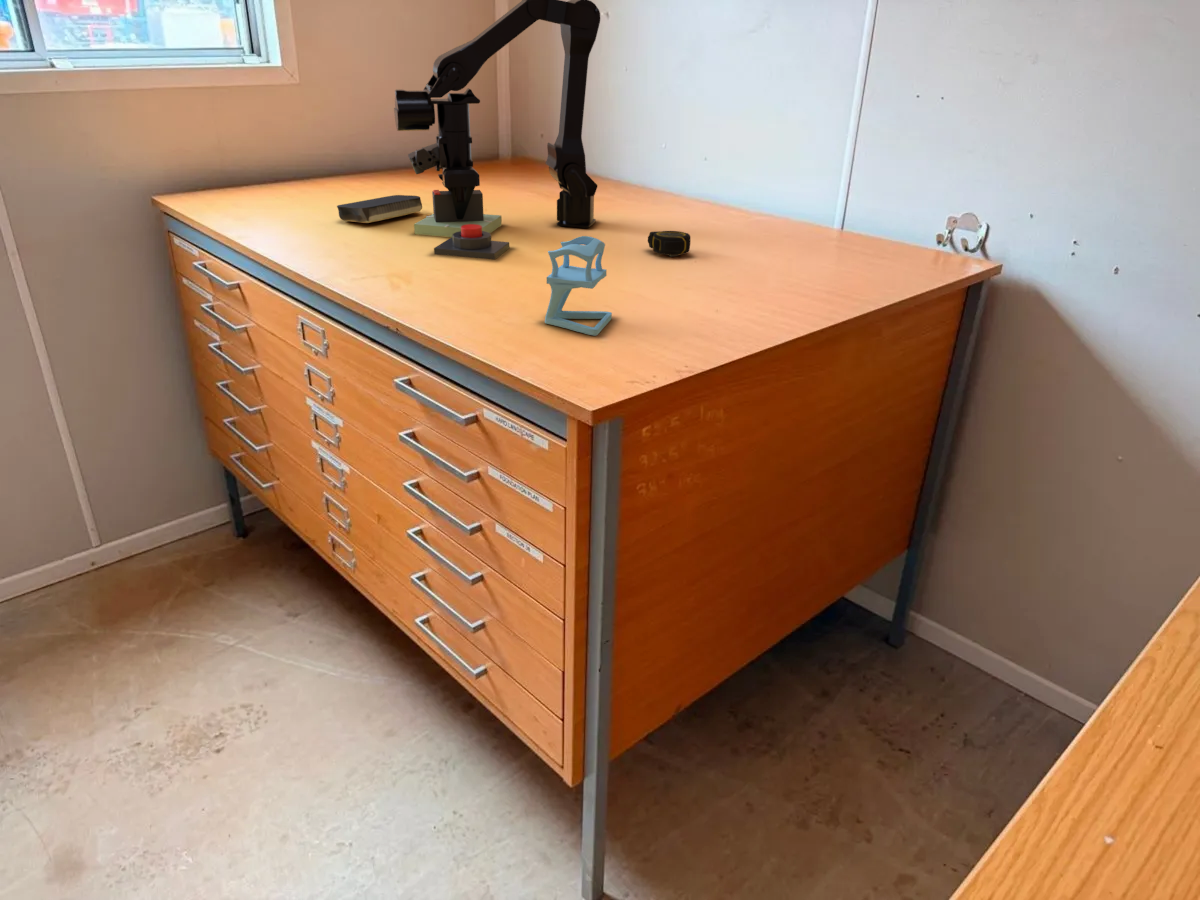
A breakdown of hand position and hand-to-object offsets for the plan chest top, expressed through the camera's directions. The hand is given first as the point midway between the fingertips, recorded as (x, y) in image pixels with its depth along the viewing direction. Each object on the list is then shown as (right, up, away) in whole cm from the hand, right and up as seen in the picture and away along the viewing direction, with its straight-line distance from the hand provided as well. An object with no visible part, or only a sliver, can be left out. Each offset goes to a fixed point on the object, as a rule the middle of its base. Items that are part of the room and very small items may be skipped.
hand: (458, 216), depth 165 cm
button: (+5, -7, -14) cm, 16 cm away
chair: (+24, -27, -45) cm, 57 cm away
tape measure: (+39, -9, -10) cm, 41 cm away
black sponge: (-17, +2, +8) cm, 19 cm away
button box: (+4, -10, -13) cm, 16 cm away
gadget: (0, 0, 0) cm, 0 cm away
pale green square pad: (0, -2, +1) cm, 2 cm away
